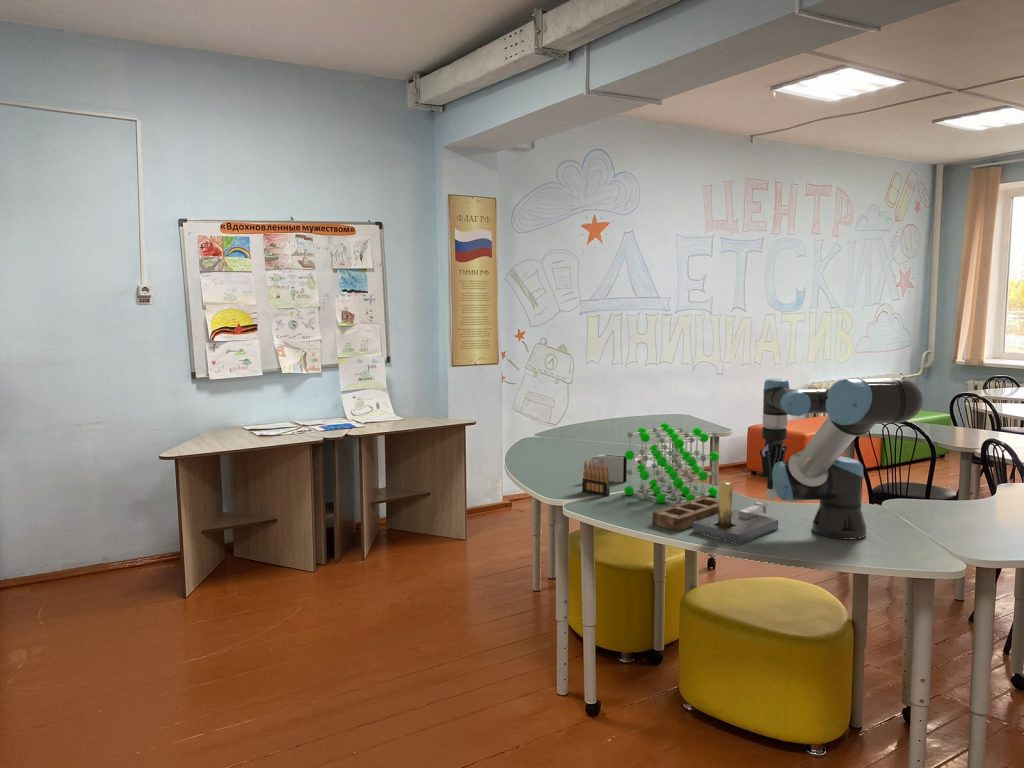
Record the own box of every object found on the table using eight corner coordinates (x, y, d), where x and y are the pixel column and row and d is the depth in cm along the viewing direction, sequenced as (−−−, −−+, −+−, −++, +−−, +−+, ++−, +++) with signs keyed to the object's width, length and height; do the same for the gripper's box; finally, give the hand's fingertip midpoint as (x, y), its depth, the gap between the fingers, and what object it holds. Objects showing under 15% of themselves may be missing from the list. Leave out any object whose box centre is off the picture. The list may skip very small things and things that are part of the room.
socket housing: (777, 529, 234) (778, 519, 234) (738, 544, 219) (738, 534, 219) (732, 517, 246) (732, 508, 245) (692, 531, 231) (692, 522, 231)
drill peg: (733, 534, 229) (735, 483, 227) (726, 537, 226) (728, 485, 224) (722, 531, 232) (723, 480, 230) (714, 534, 229) (716, 483, 227)
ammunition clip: (581, 491, 278) (582, 460, 277) (584, 490, 280) (584, 459, 278) (607, 496, 272) (607, 464, 271) (609, 495, 273) (610, 463, 272)
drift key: (768, 512, 241) (768, 504, 241) (748, 519, 233) (748, 511, 233) (757, 509, 244) (757, 502, 244) (737, 516, 236) (737, 508, 236)
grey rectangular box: (590, 482, 293) (590, 456, 291) (590, 479, 298) (590, 454, 297) (626, 483, 291) (627, 457, 290) (626, 479, 296) (626, 454, 295)
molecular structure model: (679, 509, 256) (680, 439, 253) (622, 495, 274) (622, 429, 271) (719, 496, 271) (721, 430, 269) (663, 483, 290) (664, 421, 287)
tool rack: (729, 513, 250) (730, 502, 250) (678, 531, 232) (678, 519, 231) (704, 507, 257) (704, 496, 257) (652, 524, 239) (652, 512, 239)
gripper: (774, 422, 250) (771, 492, 253) (753, 427, 241) (750, 499, 244) (795, 425, 244) (792, 496, 247) (774, 431, 236) (771, 504, 239)
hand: (771, 498), depth 246 cm, fingers closed
